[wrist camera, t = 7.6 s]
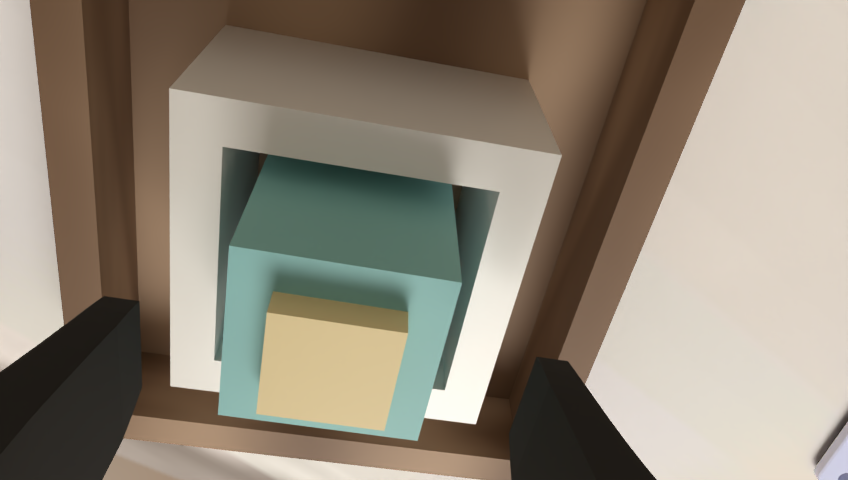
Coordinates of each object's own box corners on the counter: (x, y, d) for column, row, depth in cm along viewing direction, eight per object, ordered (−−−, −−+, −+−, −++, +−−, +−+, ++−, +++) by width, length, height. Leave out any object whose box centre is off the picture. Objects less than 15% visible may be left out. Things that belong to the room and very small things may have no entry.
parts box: (711, -78, 16) (769, -58, 13) (528, 415, 24) (541, 486, 21) (78, -214, 14) (5, -221, 12) (113, 362, 22) (75, 432, 20)
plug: (445, 127, 18) (464, 303, 11) (416, 254, 20) (417, 464, 14) (291, 98, 17) (220, 265, 11) (277, 231, 20) (210, 438, 13)
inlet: (528, 80, 17) (562, 155, 13) (464, 314, 21) (475, 424, 17) (225, 24, 16) (168, 88, 13) (216, 278, 20) (170, 386, 16)
